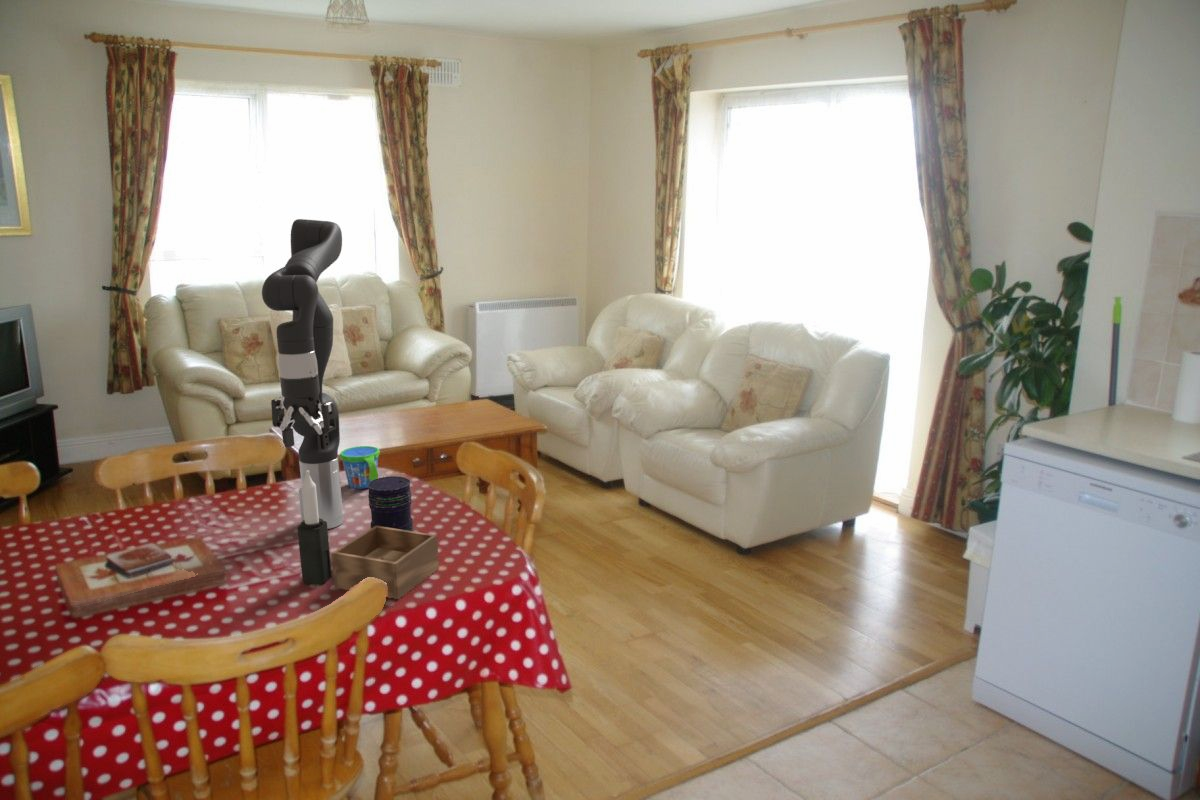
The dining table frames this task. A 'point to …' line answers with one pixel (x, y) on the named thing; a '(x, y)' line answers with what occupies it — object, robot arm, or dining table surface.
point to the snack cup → (360, 465)
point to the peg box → (386, 559)
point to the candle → (313, 538)
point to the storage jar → (391, 503)
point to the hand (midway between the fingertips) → (306, 448)
